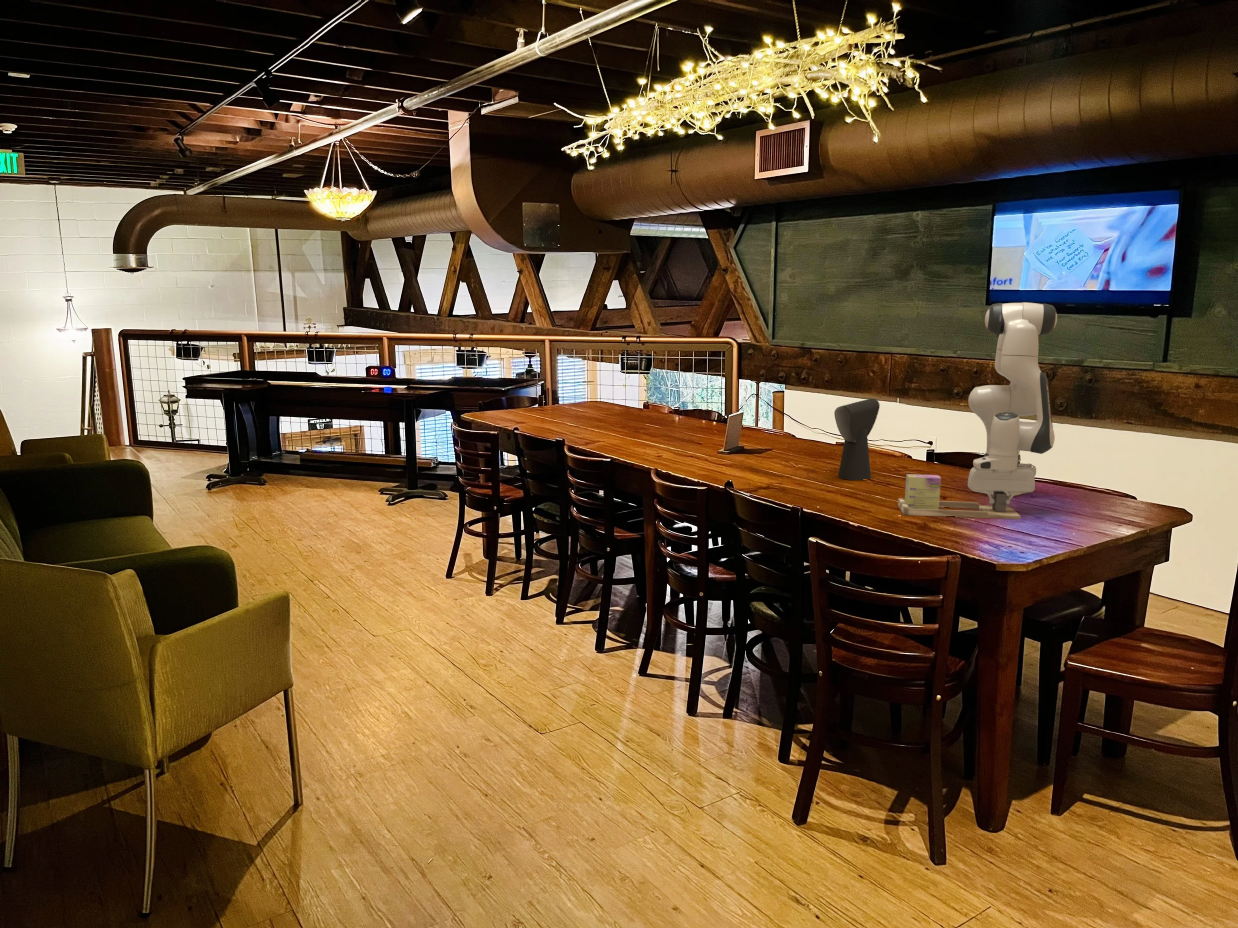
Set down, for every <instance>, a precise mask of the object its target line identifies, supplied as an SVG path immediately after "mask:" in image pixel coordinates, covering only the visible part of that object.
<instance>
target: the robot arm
mask: <svg viewBox="0 0 1238 928" xmlns="http://www.w3.org/2000/svg"><path fill="white" fill-rule="evenodd" d="M1057 322H1058V314H1057V310H1056V308H1055V306H1054V305H1052V304H1048V303H1035V302H1025V301H1024V302H1008V303H1002V302H998V303H993V304H991V305H990V306H989V307H988V309H987V310H986V314H985V315H984V323H985V324H984V325H985V328H986V330H987V332H989V333H990V334H992V335H994V336H996V338H997V339H998V340H997V343H996V344H997V345H996V352H995V358H994V369H995V371H996V372H997V373H998V374H999V375H1001V376H1003V377H1005V379H1007V380H1008V381H1009V382H1010V384H1008V385H1004V384H1003V385H1001V384H1000V385H999V384H998V385H997V384H989V385H988V384H987V385H981V386H975V387H974V388H973V389H972V391H970V394H969V395H968V399H967V400H968V403H967V404H968V406H969V409H970V410H971V411H972V412H973V414H975V415H976V416H977V417H978V418H979V419H980V420H981V421H982V423H983V425H984V427H985V431H986V450H985V451H986V452H984V456H983V457H979V458H975V459H973V462H972V464H973V467H972V468H970V470H969V473H968V479H967V487H968V488H969V490H971V491H972V492H975V493H982V494H985V495H986V494H987V496H988V498H989V501H988V502H989V505H992V504H995V499H994V498H993V491H1003V492H1005V493H1006V494H1007V500H1006V506H1009V505H1010V504H1011V500H1012V499H1013V497H1015V496H1020V495H1022V494H1024V495H1025V494H1028V493H1034V491H1035V489H1036V485H1035V484H1036V483H1035V476H1036V475H1037V467H1036V466H1035V465H1033V463H1022V462H1021V460H1022V459H1021V454H1020V452H1030V453H1035V454H1040V455H1043V454H1045V453H1047V452H1048V451H1050V450H1051V449H1053V447H1054V443H1055V437H1056V436H1055V431H1054V426H1053V425H1054V424H1053V420H1052V419H1053V418H1052V408H1051V396H1050V395H1051V394H1050V386H1049V381H1048V377H1047V374H1046V373H1044V372H1042V370H1041V368H1040V365H1039V362H1038V361H1039V360H1038V359H1039V348H1040V347H1039V344H1040V343H1039V337H1041V336H1046V335H1047V336H1048V335H1050V334H1051V333H1052V332H1053V331H1054V329H1055V327H1056V325H1057ZM1035 415H1036V421H1035V422H1032V421H1021V420H1020V417H1028V416H1029V417H1031V416H1035Z"/></svg>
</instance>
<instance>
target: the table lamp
mask: <svg viewBox="0 0 1238 928" xmlns="http://www.w3.org/2000/svg"><path fill="white" fill-rule="evenodd" d="M880 407H881V405H880V402H879V401H878V400H877V399H876V398H868V399H864V400H860V401H855V402H852V403H848V404H844V405H841V406H839V407H836V408H835V410H834V419H835V422H836V423H835V424H836V428H837V429H838V432H839V434H840V437H842V439H844V442H843V448H842V453H841V458H840V464H839V470H838V471H835V470H831V469H828V471H831V472H834V473H835V472H836V473H838V474H837V478H838V477H839V478H838V479H840V478H842V479H841V480H844V479H848V480H847V481H852V480H863V479H870V478H871V479H872V474H871V462H870V452H869V451H870V450H869V441H868V436H869V435H870V433H871V431H872V429H873V428H874V425H875V423H876V420H877V418H878V414H879V412H880V411H879V410H880ZM813 471H814V472H815V469H814V470H810V471H808V472H807V474H806V476H807V477H809V478H811V479H812V480H813V479H814V480H816V478H814V477H811V476H809V475H808V474H809V473H810V472H813ZM871 479H870V480H871Z"/></svg>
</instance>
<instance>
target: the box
mask: <svg viewBox="0 0 1238 928" xmlns="http://www.w3.org/2000/svg"><path fill="white" fill-rule="evenodd" d="M905 477H906V478H905V488H904V489H905V492H904V500H905V502H906V504H907V506H908V507H909V508H910V509H938V510H940V507H939V501H941V498H940V497H941V486H942V485H941V484H942V477H941V476H940V475H938V474H916V473H915V474H913V473H906V476H905Z"/></svg>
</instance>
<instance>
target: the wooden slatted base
mask: <svg viewBox="0 0 1238 928" xmlns="http://www.w3.org/2000/svg"><path fill="white" fill-rule="evenodd" d="M1007 497H1008V496H1007V494H1006V493H1005V492H1003V491H993V495H992V498H994V499H995V504H991V505H988V504H987V505H985V504H984V505H981V504H980V502H978V501H976V502H975V501H952V500H951V501H949V500H945V501H944V500H940V501H939V508H944V507H950V509H939V510H938V509H910V508H909V507H908V506H907V504H906V502H905V498H902V497H898V499H897V507H898V508H899V510H900V511H901V513H902V515H903V516H922V517H923V516H925V517H926V516H928V517H946V516H955V517H954V518H972V519H973V518H975V519H976V518H978V519H1000V520H1001V519H1003V520H1005V519H1006V520H1008V519H1009V520H1021V515H1020V514H1019V513H1018V512H1016V510H1015V509H1013V508H1012V507H1011V506H1009V505H1006V500H1007ZM951 508H952V509H951ZM959 509H961V510H959ZM962 509H971V510H962ZM972 509H976V510H972Z"/></svg>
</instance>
